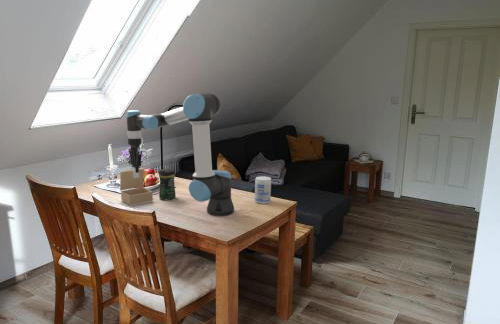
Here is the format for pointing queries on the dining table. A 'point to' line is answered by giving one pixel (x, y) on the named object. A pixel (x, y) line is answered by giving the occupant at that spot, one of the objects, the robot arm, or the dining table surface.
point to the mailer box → (136, 196)
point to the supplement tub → (262, 189)
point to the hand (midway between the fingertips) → (136, 177)
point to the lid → (131, 179)
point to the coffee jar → (167, 184)
